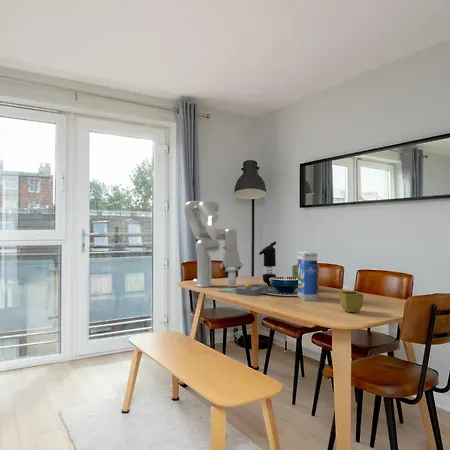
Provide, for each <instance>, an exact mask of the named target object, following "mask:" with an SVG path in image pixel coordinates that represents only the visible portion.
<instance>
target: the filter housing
mask: <svg viewBox="0 0 450 450" xmlns="http://www.w3.org/2000/svg"><path fill="white" fill-rule="evenodd" d="M251 284H252V287H251V288H250V289H248V288H246V285H243V286H239V287H236V288H237V292H236V295H241V296H253V297H256V296H258V295H262V294H263V293H262V292H264V291H267V292H269V291H268V290H269V288H270V286H269V285H268V284H257V283H256V284H255V283H251ZM264 293H265V292H264Z"/></svg>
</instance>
